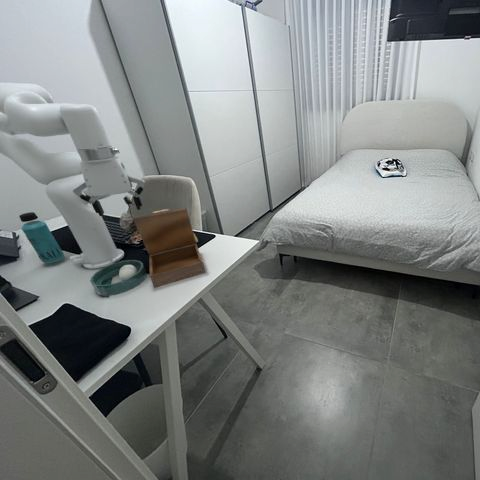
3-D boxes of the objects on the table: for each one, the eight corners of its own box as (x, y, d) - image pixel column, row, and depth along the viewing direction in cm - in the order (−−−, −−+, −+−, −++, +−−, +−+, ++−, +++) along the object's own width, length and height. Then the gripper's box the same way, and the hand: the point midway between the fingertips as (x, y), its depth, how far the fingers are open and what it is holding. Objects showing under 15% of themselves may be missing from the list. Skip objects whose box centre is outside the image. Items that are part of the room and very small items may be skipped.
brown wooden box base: (206, 274, 90) (202, 261, 87) (155, 289, 83) (149, 276, 80) (199, 255, 101) (196, 243, 98) (154, 267, 94) (149, 255, 91)
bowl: (93, 303, 78) (86, 291, 76) (99, 278, 89) (94, 268, 86) (147, 287, 84) (142, 276, 82) (147, 266, 95) (143, 255, 93)
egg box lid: (186, 209, 88) (184, 201, 91) (132, 219, 81) (132, 211, 84) (196, 243, 98) (193, 235, 101) (149, 254, 91) (147, 246, 94)
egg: (128, 287, 85) (140, 277, 85) (114, 280, 81) (126, 269, 82) (129, 276, 90) (140, 267, 90) (116, 269, 87) (127, 259, 87)
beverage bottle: (53, 258, 101) (24, 210, 91) (71, 257, 101) (44, 209, 91) (39, 267, 95) (6, 218, 85) (58, 266, 95) (27, 217, 86)
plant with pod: (139, 233, 118) (123, 191, 109) (152, 239, 113) (135, 195, 103) (120, 240, 112) (100, 196, 103) (132, 247, 107) (112, 202, 97)
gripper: (134, 149, 78) (153, 202, 86) (60, 155, 71) (88, 212, 79) (132, 153, 72) (152, 210, 81) (52, 160, 65) (83, 221, 73)
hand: (121, 211), depth 80 cm, fingers open, 9 cm apart
